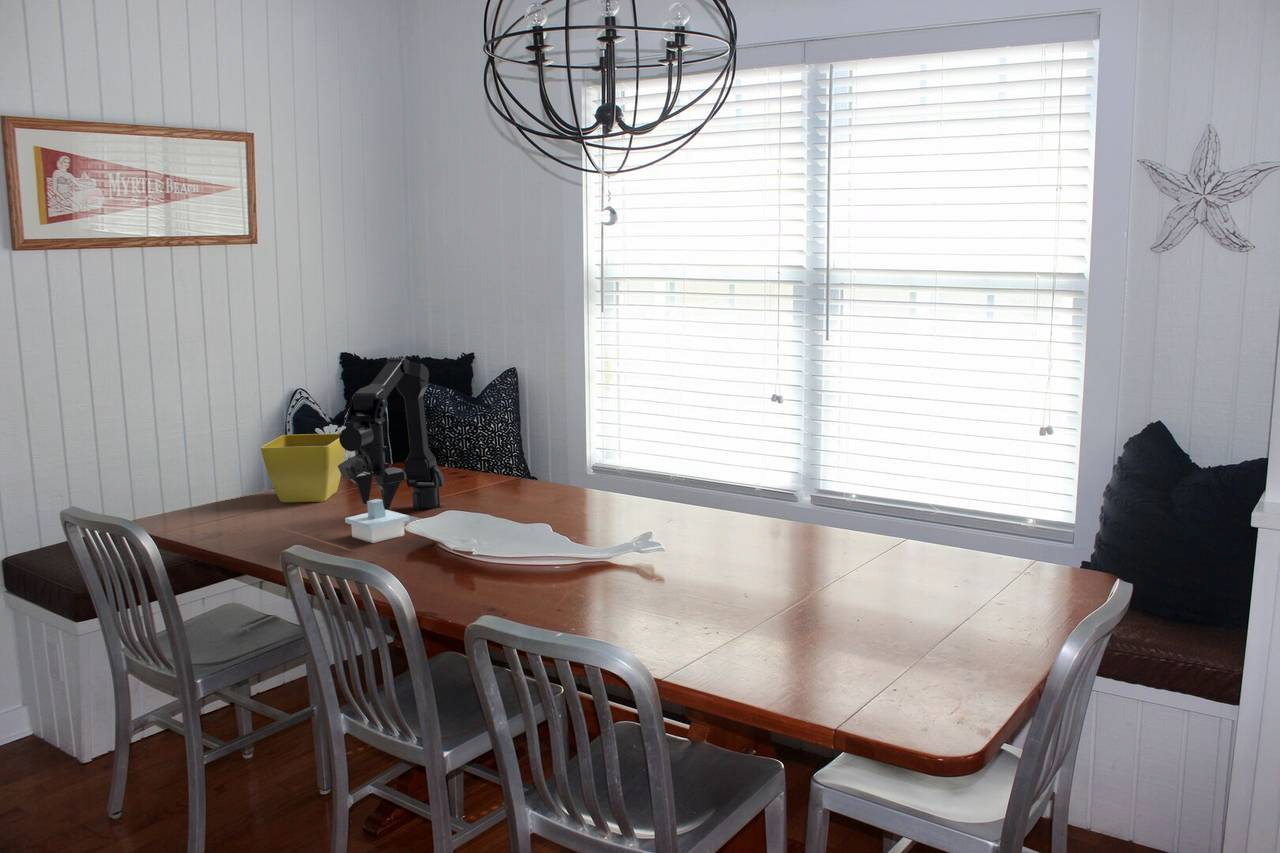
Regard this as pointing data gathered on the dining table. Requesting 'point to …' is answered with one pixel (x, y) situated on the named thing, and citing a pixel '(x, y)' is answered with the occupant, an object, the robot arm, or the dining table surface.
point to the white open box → (378, 532)
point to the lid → (376, 516)
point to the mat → (411, 519)
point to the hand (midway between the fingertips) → (376, 506)
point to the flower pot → (304, 466)
